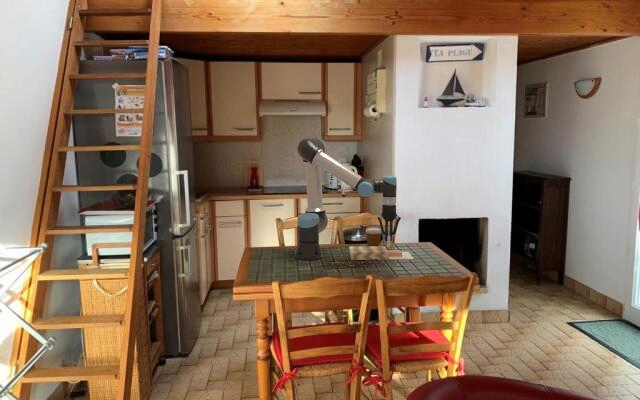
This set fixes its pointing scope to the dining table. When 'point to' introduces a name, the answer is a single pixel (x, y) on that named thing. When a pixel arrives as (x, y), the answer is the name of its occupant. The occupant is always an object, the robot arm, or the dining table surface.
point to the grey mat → (403, 257)
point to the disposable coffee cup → (373, 236)
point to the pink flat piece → (395, 253)
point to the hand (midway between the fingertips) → (388, 246)
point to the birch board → (368, 253)
